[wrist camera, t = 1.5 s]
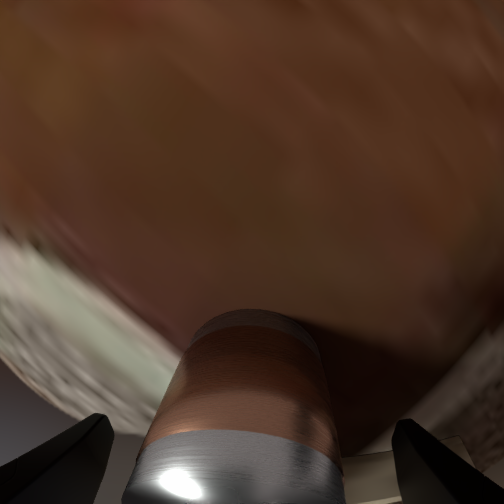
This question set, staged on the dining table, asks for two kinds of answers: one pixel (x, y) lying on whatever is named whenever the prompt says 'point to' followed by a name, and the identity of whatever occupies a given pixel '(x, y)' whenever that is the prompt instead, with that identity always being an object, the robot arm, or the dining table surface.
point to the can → (243, 421)
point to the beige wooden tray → (381, 475)
